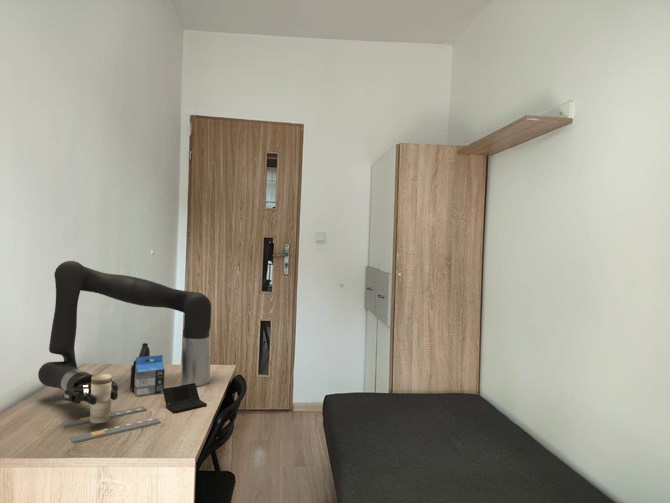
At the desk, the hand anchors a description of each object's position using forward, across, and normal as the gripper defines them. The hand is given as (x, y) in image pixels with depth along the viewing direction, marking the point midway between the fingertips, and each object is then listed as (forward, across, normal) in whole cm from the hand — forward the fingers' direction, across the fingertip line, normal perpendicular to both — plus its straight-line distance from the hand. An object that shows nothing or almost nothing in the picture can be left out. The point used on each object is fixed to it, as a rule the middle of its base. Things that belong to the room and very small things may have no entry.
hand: (105, 398), depth 123 cm
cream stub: (-3, 0, +6) cm, 7 cm away
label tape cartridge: (-19, +23, +9) cm, 31 cm away
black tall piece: (-36, +29, +9) cm, 47 cm away
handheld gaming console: (0, +25, +9) cm, 26 cm away
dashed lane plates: (-2, +3, +8) cm, 9 cm away
